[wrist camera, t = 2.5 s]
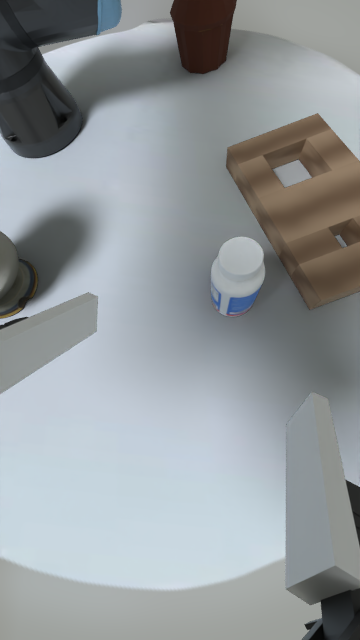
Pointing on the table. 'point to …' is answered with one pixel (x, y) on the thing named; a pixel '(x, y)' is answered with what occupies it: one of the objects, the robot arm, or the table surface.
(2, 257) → the apothecary jar
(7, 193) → the table surface
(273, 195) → the socket board
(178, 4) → the muffin
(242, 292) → the pill bottle
